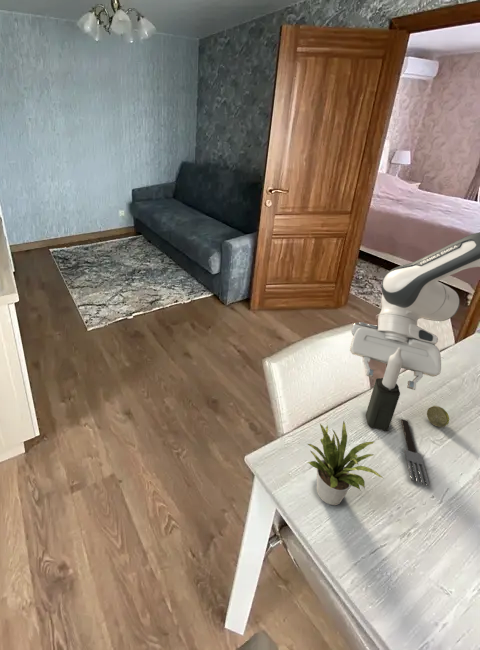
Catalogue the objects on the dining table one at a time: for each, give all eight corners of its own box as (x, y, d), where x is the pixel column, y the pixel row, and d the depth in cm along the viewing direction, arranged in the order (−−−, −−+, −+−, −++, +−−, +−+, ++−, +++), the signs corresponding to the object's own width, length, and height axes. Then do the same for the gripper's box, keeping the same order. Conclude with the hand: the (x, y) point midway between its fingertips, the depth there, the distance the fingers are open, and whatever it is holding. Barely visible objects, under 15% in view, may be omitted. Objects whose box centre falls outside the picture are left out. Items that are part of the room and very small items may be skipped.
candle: (367, 426, 93) (390, 352, 83) (365, 412, 97) (386, 339, 88) (389, 432, 91) (414, 357, 82) (385, 417, 96) (409, 344, 86)
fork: (411, 423, 94) (412, 422, 94) (428, 486, 78) (429, 485, 78) (396, 419, 95) (397, 418, 95) (410, 480, 79) (411, 479, 79)
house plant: (380, 496, 76) (399, 444, 70) (357, 548, 67) (376, 494, 61) (318, 453, 86) (329, 404, 79) (290, 493, 77) (301, 441, 70)
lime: (446, 432, 91) (452, 419, 89) (424, 423, 94) (429, 409, 92) (446, 421, 94) (452, 408, 93) (425, 412, 97) (430, 399, 95)
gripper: (354, 317, 94) (346, 367, 90) (445, 338, 86) (441, 396, 81) (352, 322, 100) (344, 370, 95) (437, 343, 91) (432, 397, 87)
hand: (389, 382), depth 88 cm, fingers open, 8 cm apart
